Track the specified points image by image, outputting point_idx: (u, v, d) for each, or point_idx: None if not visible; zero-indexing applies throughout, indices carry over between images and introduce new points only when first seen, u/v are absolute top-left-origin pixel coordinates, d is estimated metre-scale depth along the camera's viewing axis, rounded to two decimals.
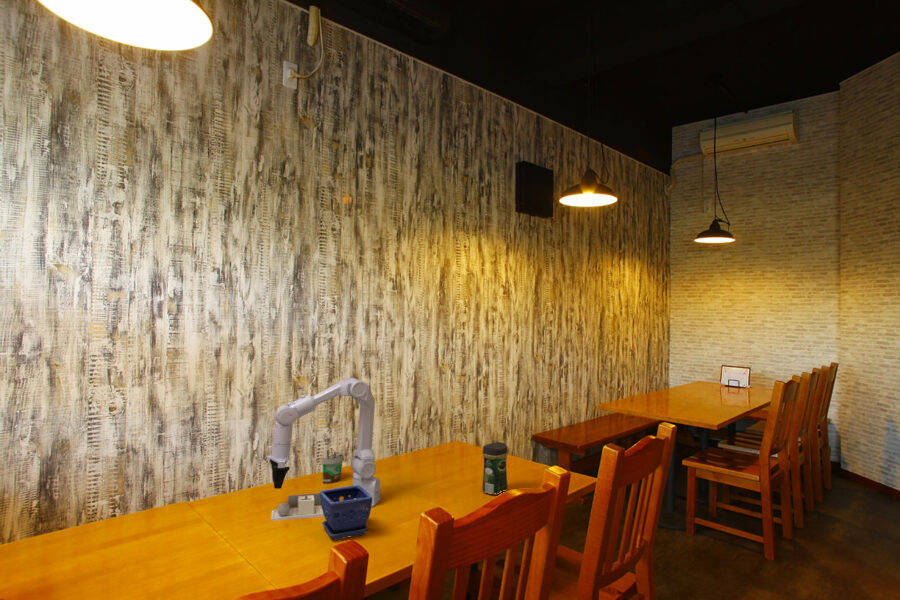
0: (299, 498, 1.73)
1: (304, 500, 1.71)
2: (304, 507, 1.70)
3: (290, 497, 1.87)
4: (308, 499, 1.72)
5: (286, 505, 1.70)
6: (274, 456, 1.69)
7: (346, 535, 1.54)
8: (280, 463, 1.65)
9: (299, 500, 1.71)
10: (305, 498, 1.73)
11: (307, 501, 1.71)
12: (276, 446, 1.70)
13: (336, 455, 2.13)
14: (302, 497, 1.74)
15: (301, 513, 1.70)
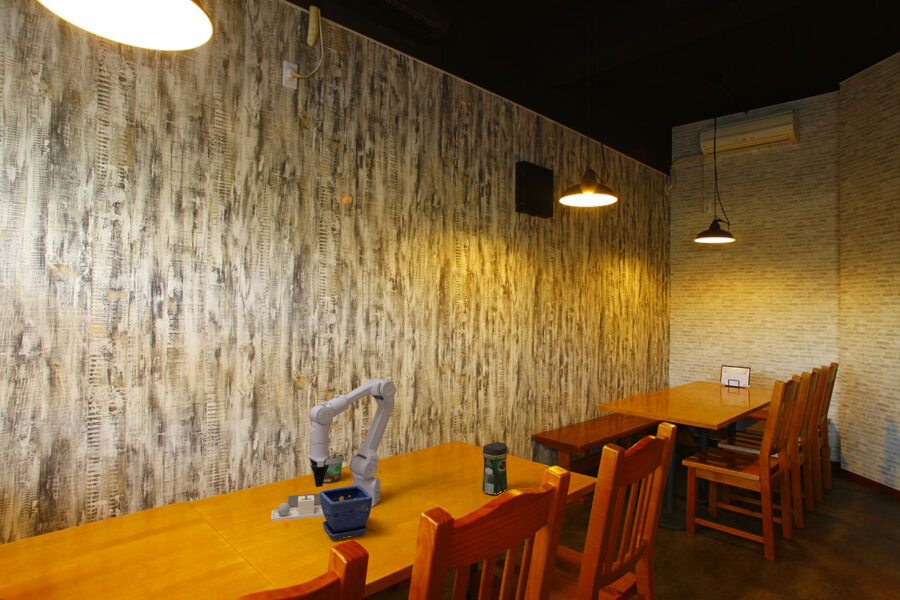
0: (299, 498, 1.73)
1: (304, 500, 1.71)
2: (304, 507, 1.70)
3: (290, 497, 1.87)
4: (308, 499, 1.72)
5: (286, 505, 1.70)
6: (313, 455, 1.72)
7: (346, 535, 1.54)
8: (319, 462, 1.68)
9: (299, 500, 1.71)
10: (305, 498, 1.73)
11: (307, 501, 1.71)
12: (314, 445, 1.72)
13: (336, 455, 2.13)
14: (302, 497, 1.74)
15: (301, 513, 1.70)
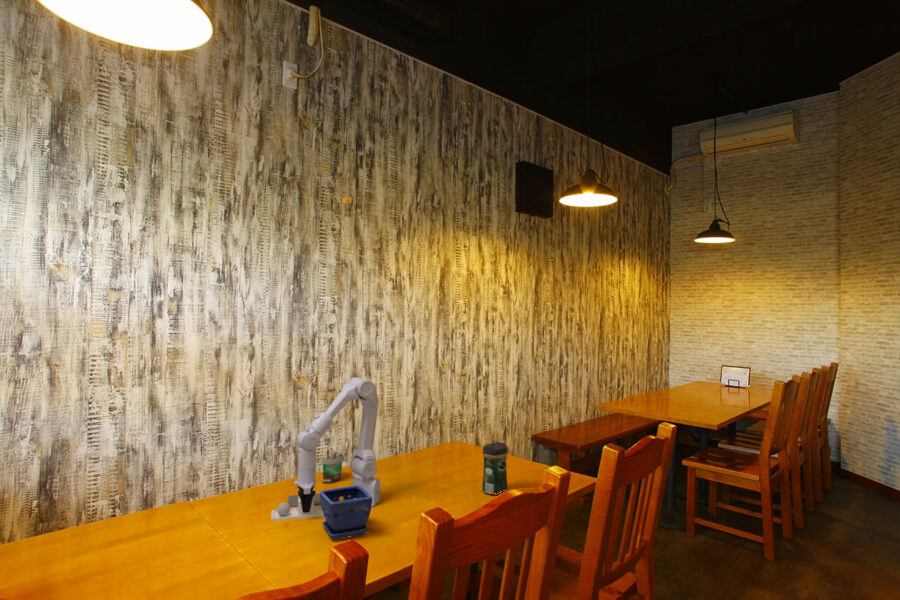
0: (299, 498, 1.73)
1: None
2: None
3: (290, 497, 1.87)
4: None
5: (286, 505, 1.70)
6: (300, 481, 1.71)
7: (346, 535, 1.54)
8: (306, 489, 1.66)
9: (299, 500, 1.71)
10: None
11: None
12: (301, 472, 1.71)
13: (336, 455, 2.13)
14: None
15: (301, 513, 1.70)
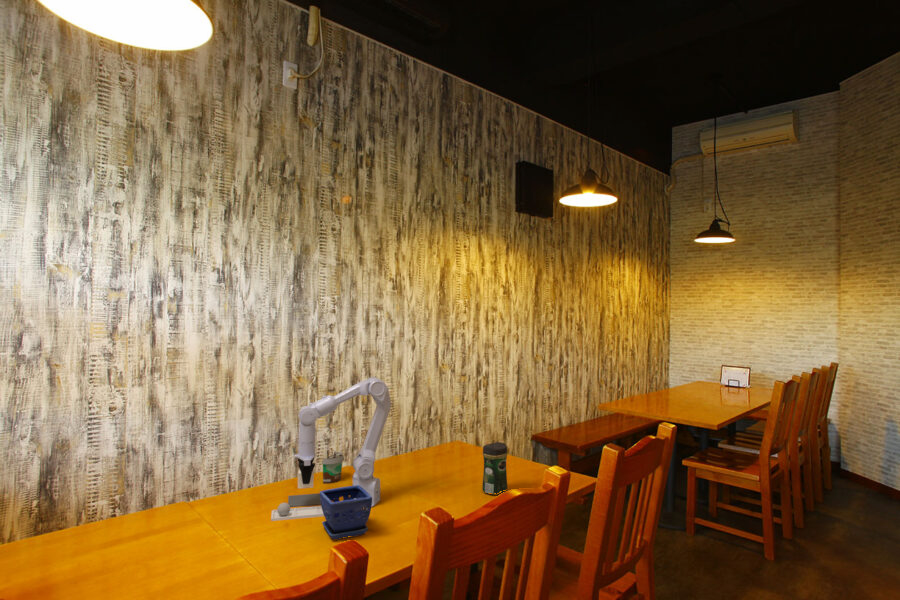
0: (299, 471, 1.79)
1: None
2: None
3: (290, 497, 1.87)
4: None
5: (286, 505, 1.70)
6: (300, 454, 1.77)
7: (346, 535, 1.54)
8: (306, 461, 1.73)
9: (299, 472, 1.77)
10: None
11: None
12: (301, 445, 1.77)
13: (336, 455, 2.13)
14: None
15: (301, 485, 1.77)
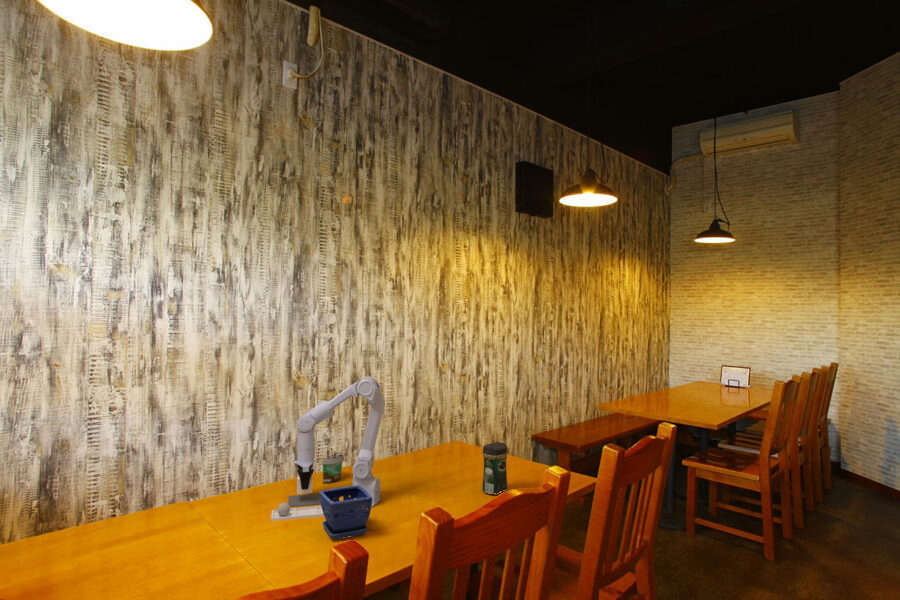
0: (298, 476, 1.85)
1: None
2: None
3: (290, 497, 1.87)
4: None
5: (286, 505, 1.70)
6: (299, 460, 1.83)
7: (346, 535, 1.54)
8: (304, 467, 1.78)
9: (298, 478, 1.83)
10: None
11: None
12: (300, 452, 1.83)
13: (336, 455, 2.13)
14: None
15: (300, 490, 1.82)
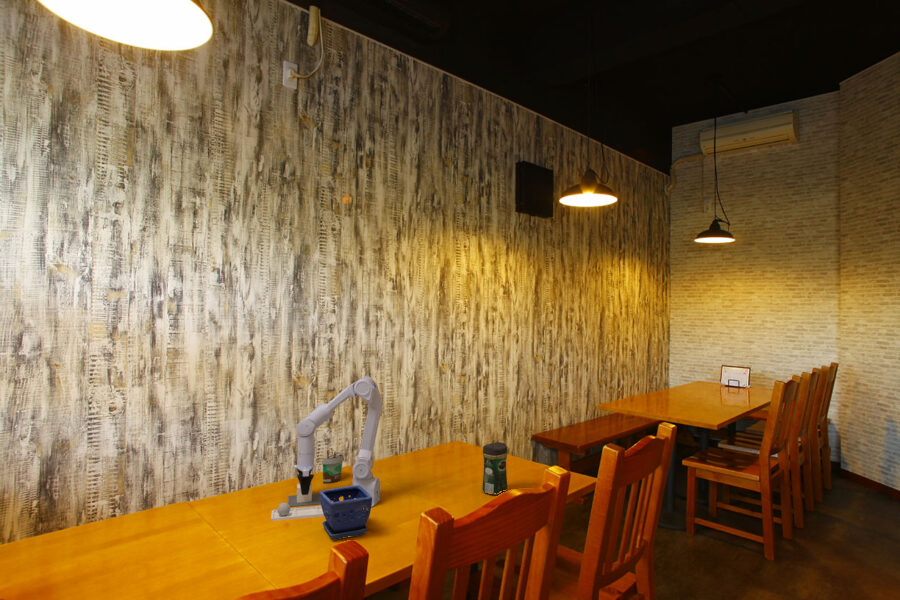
0: (298, 485, 1.85)
1: None
2: None
3: (290, 497, 1.87)
4: None
5: (286, 505, 1.70)
6: (299, 465, 1.83)
7: (346, 535, 1.54)
8: (304, 472, 1.78)
9: (298, 487, 1.83)
10: None
11: None
12: (300, 456, 1.83)
13: (336, 455, 2.13)
14: None
15: (300, 499, 1.82)
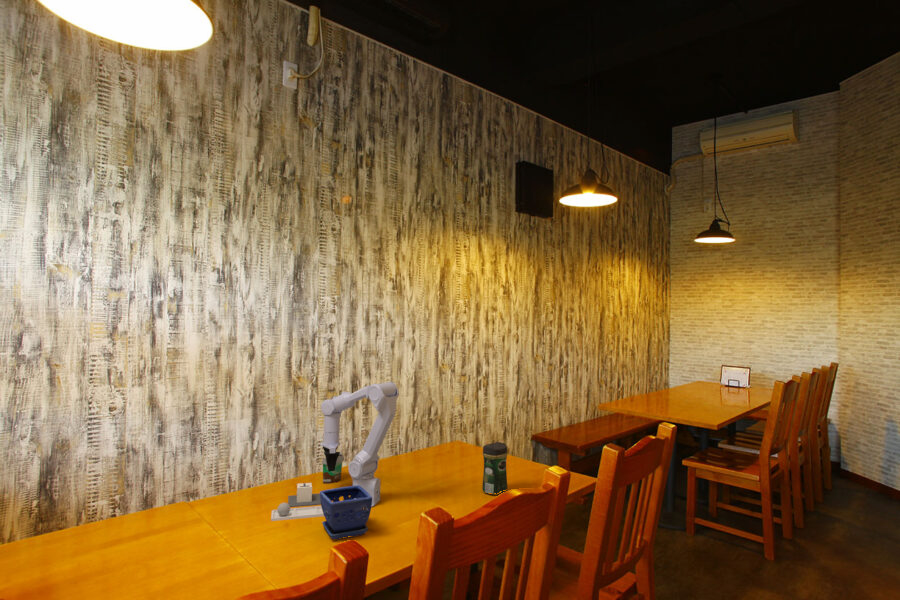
0: (298, 485, 1.85)
1: (302, 487, 1.83)
2: (303, 494, 1.83)
3: (290, 497, 1.87)
4: (306, 486, 1.84)
5: (286, 505, 1.70)
6: (325, 443, 1.92)
7: (346, 535, 1.54)
8: (331, 449, 1.87)
9: (298, 487, 1.83)
10: (303, 485, 1.85)
11: (305, 488, 1.83)
12: (327, 434, 1.92)
13: None
14: (301, 484, 1.86)
15: (300, 499, 1.82)
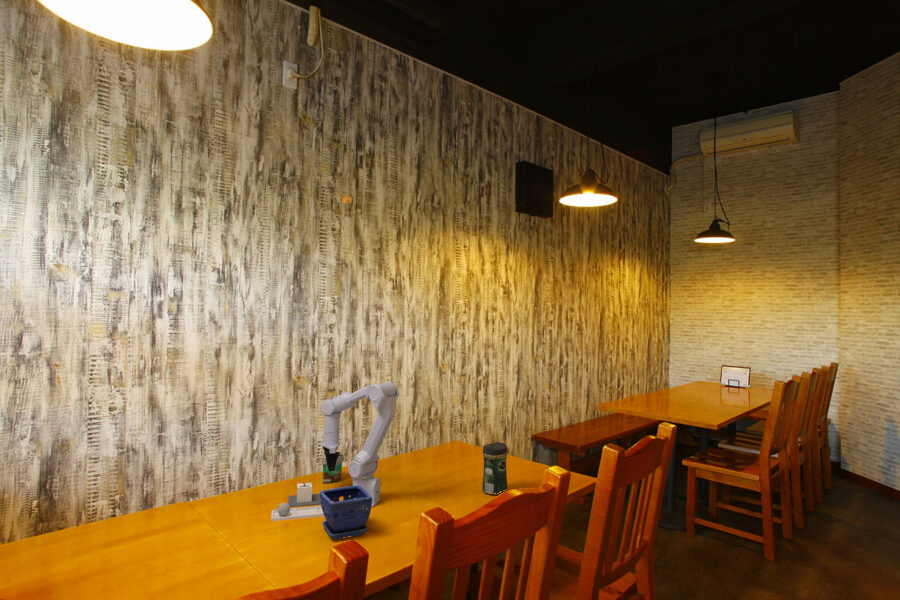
0: (298, 485, 1.85)
1: (302, 487, 1.83)
2: (303, 494, 1.83)
3: (290, 497, 1.87)
4: (306, 486, 1.84)
5: (286, 505, 1.70)
6: (325, 443, 1.92)
7: (346, 535, 1.54)
8: (331, 449, 1.87)
9: (298, 487, 1.83)
10: (303, 485, 1.85)
11: (305, 488, 1.83)
12: (327, 434, 1.92)
13: None
14: (301, 484, 1.86)
15: (300, 499, 1.82)
